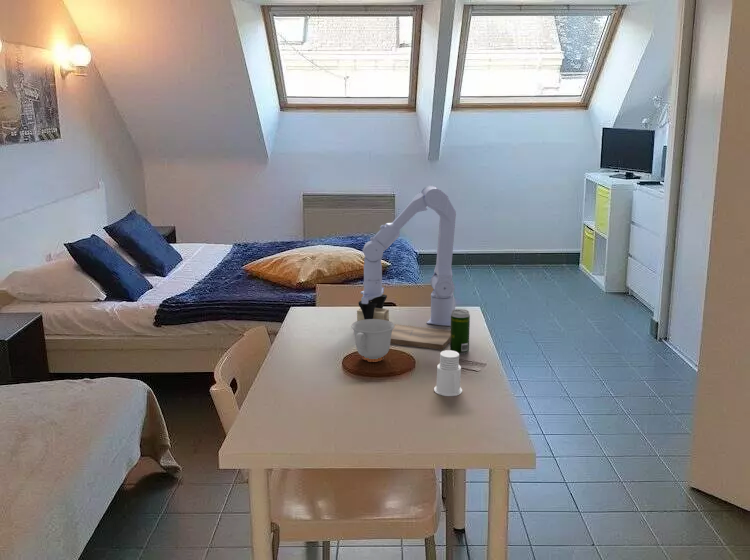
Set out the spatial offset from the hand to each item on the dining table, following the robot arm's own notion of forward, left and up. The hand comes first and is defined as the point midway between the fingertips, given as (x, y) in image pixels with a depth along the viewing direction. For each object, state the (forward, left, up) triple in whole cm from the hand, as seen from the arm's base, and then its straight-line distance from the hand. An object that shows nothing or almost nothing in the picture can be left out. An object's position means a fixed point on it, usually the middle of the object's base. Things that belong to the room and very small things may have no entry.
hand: (373, 319), depth 234 cm
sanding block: (0, 0, -2) cm, 2 cm away
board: (+9, +18, -1) cm, 20 cm away
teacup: (+32, +12, -2) cm, 34 cm away
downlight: (+45, +38, -2) cm, 59 cm away
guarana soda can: (+16, +33, -2) cm, 37 cm away
